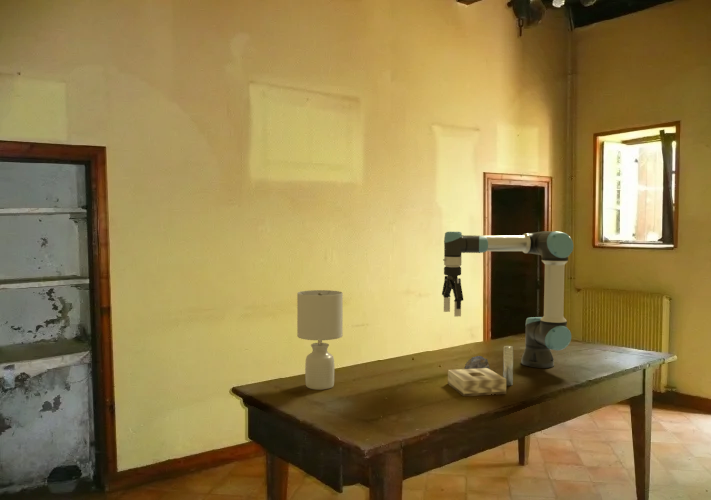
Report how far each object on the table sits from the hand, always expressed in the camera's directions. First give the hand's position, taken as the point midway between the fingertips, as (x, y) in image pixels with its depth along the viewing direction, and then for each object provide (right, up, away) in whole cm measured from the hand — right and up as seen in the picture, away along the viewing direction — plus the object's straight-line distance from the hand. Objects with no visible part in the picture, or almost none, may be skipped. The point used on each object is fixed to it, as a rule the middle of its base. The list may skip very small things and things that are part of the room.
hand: (452, 314), depth 256 cm
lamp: (-58, -29, -16) cm, 66 cm away
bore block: (+7, -29, -18) cm, 35 cm away
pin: (+22, -29, -11) cm, 38 cm away
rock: (+12, -28, +4) cm, 31 cm away
